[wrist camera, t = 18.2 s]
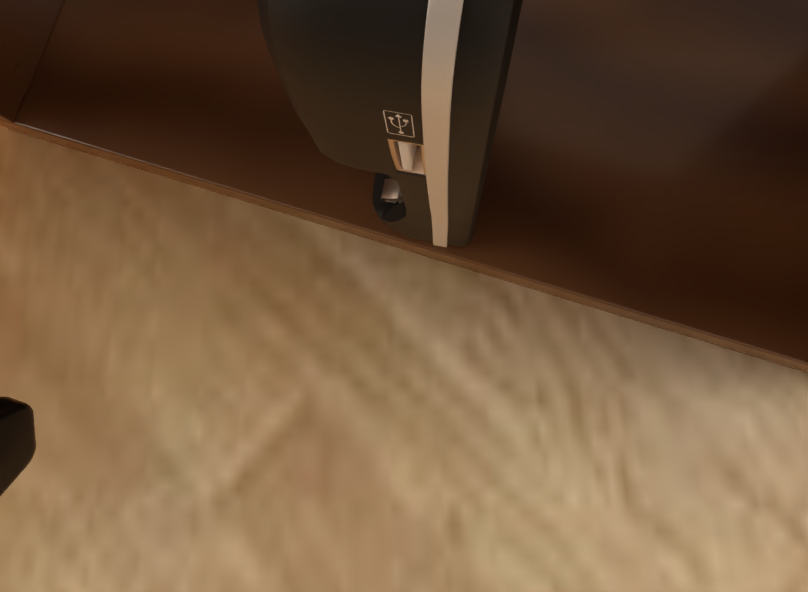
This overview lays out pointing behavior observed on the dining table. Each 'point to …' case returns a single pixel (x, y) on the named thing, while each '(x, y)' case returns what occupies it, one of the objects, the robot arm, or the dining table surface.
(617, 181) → the brown wooden cubby shelf
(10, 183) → the dining table surface
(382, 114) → the black rounded piece
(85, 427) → the dining table surface
